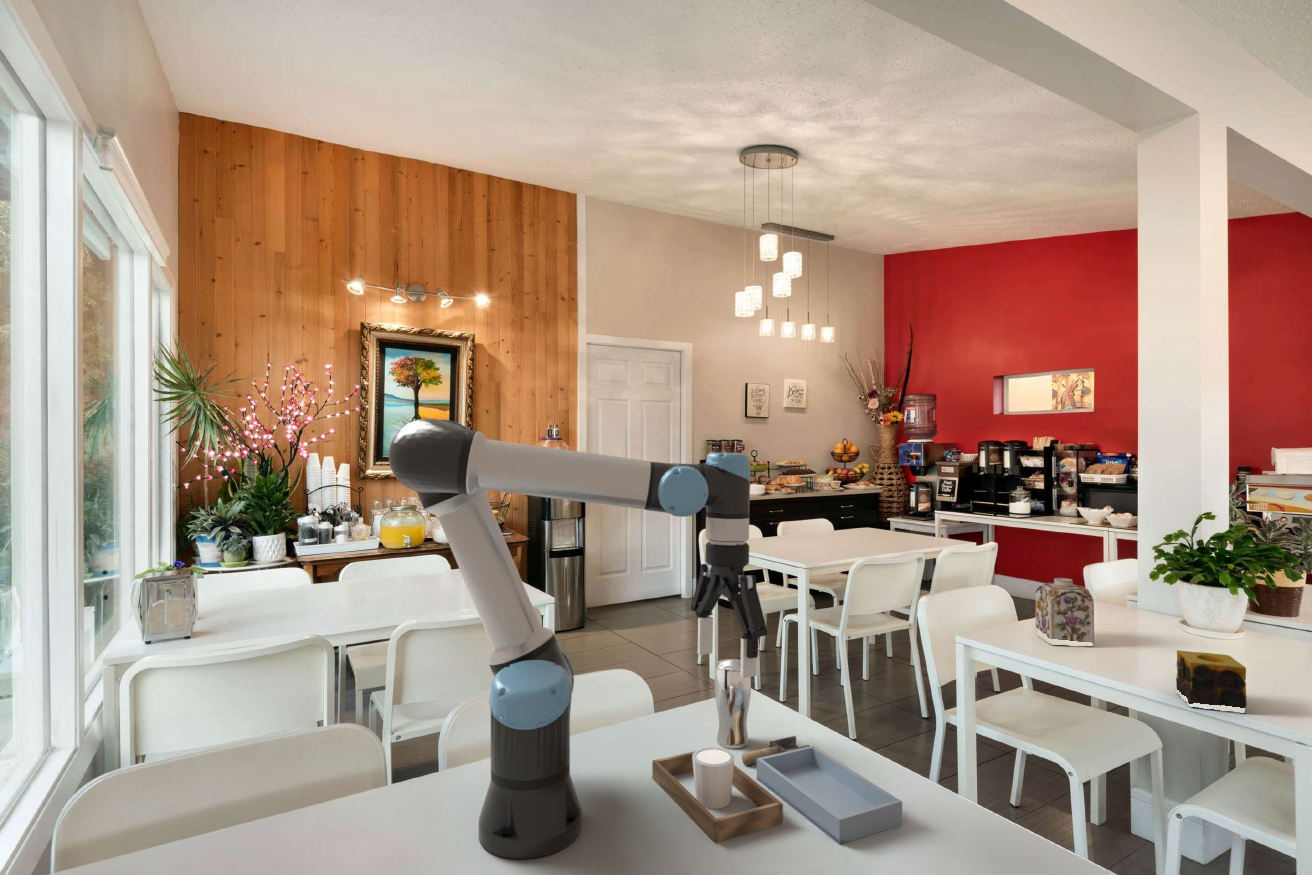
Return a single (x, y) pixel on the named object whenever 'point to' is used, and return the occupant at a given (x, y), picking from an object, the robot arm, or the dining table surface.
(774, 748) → the hand scoop
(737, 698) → the silver metal tumbler
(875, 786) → the bin
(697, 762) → the white faceted cup
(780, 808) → the walnut frame
